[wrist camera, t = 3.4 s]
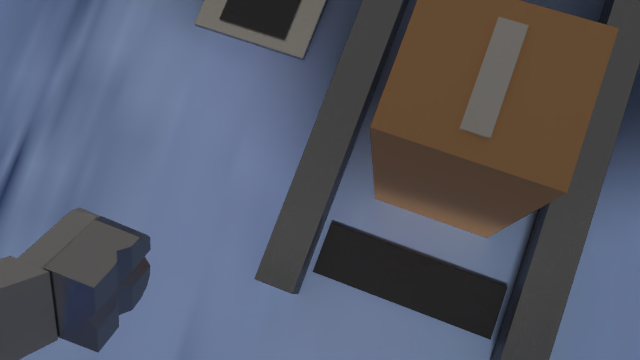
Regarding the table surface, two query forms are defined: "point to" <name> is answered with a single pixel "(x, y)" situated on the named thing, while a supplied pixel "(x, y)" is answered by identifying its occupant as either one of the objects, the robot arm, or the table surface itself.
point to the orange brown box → (486, 110)
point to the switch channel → (395, 263)
